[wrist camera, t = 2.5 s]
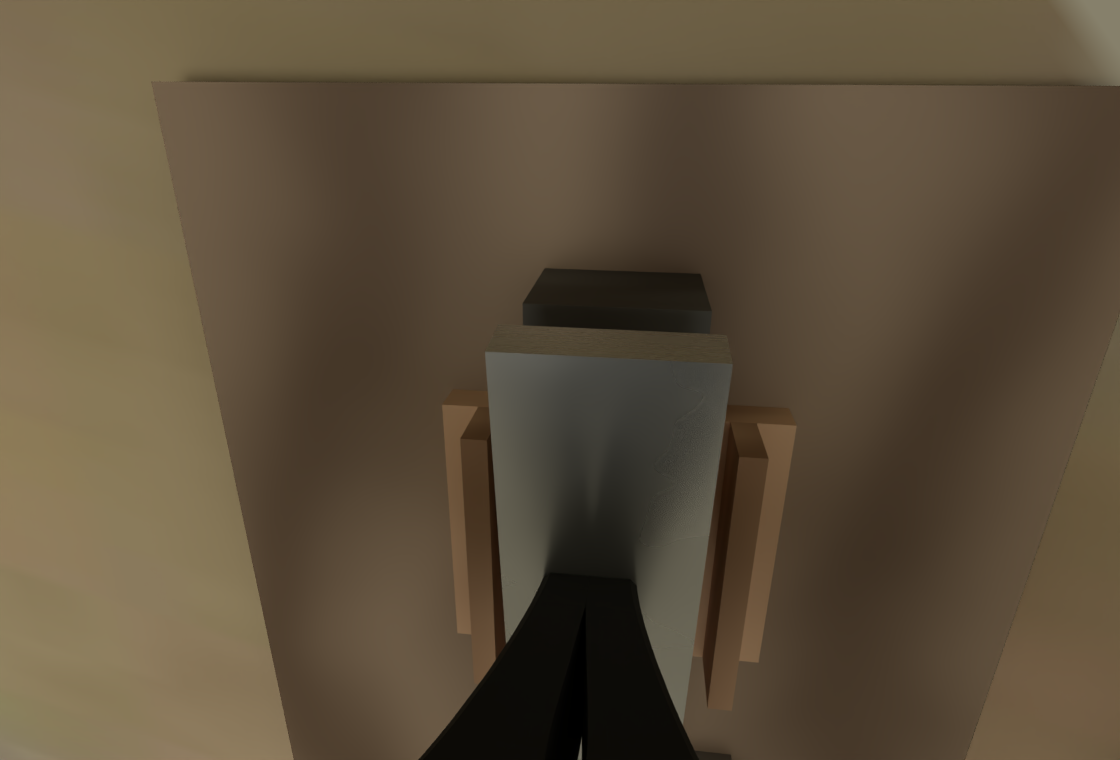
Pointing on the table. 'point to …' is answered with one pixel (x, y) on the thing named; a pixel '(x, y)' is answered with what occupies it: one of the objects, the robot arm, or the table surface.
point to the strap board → (663, 306)
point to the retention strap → (609, 468)
